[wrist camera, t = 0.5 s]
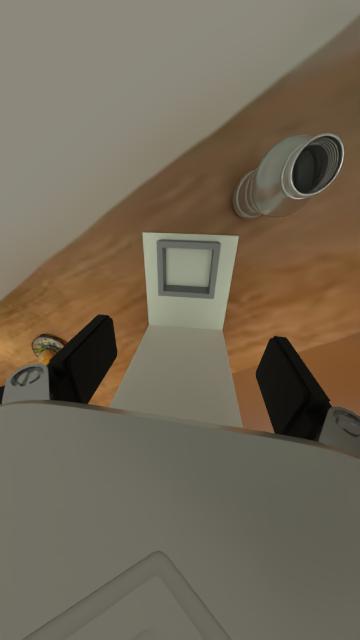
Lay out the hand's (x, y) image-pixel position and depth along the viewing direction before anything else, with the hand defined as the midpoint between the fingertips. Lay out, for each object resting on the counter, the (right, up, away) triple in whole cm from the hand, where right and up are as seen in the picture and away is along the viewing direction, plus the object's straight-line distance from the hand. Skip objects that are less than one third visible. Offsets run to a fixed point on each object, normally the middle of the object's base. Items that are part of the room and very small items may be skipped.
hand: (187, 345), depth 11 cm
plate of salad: (-38, -7, +43) cm, 58 cm away
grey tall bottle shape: (+12, +23, +20) cm, 33 cm away
